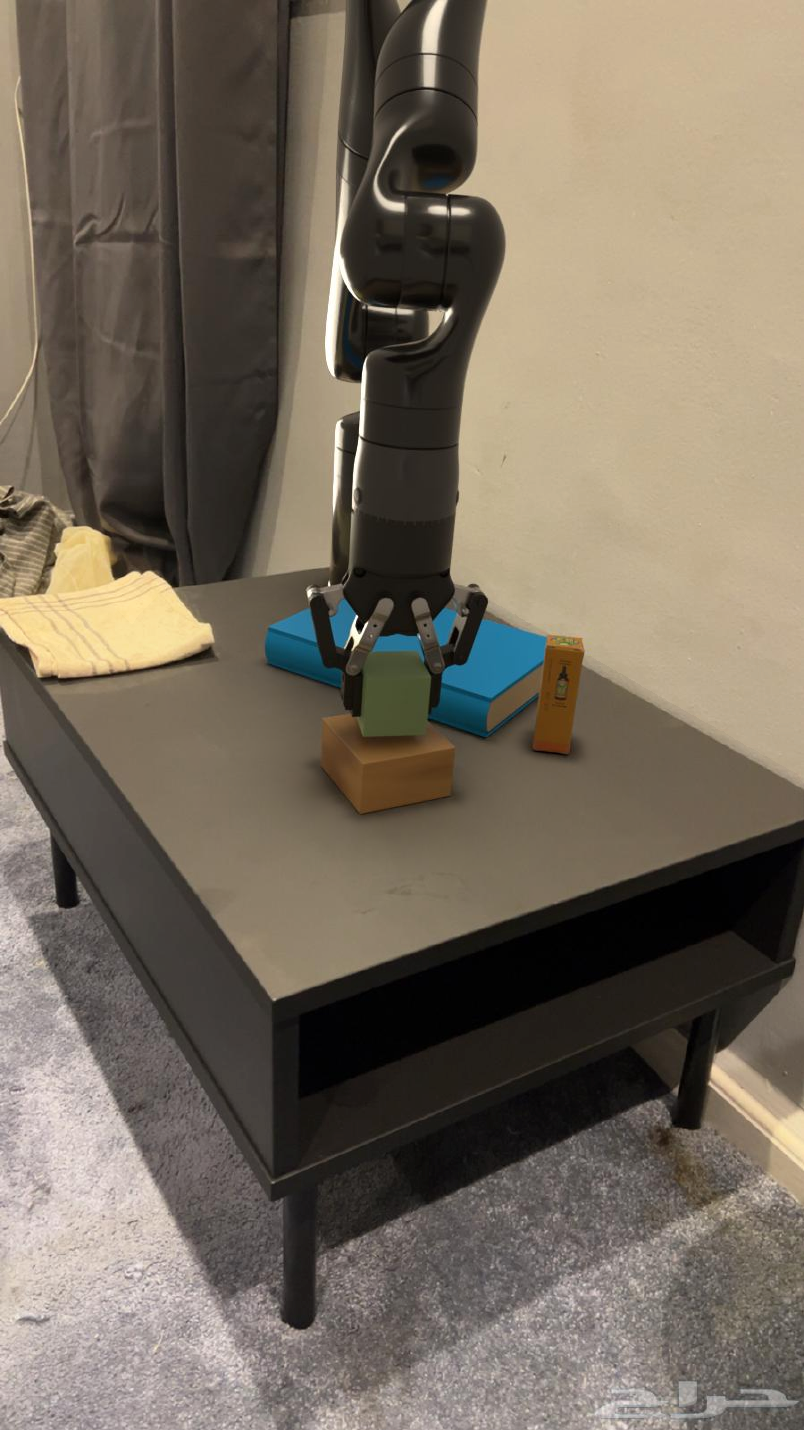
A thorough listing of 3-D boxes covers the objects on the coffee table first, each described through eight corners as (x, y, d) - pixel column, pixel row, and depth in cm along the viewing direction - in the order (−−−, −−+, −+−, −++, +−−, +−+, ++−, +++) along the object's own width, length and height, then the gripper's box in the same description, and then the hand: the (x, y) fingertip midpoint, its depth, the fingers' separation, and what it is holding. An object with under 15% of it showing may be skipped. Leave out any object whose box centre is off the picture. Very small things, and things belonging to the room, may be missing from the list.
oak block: (320, 765, 87) (322, 717, 85) (406, 750, 91) (410, 703, 89) (360, 814, 81) (363, 763, 79) (450, 796, 84) (455, 747, 82)
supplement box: (569, 738, 95) (586, 636, 90) (568, 756, 92) (585, 651, 87) (532, 733, 95) (547, 631, 91) (530, 751, 92) (545, 646, 88)
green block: (352, 707, 85) (355, 651, 83) (412, 705, 86) (417, 650, 84) (362, 737, 81) (366, 678, 79) (426, 735, 82) (431, 677, 80)
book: (359, 583, 116) (568, 638, 105) (357, 620, 118) (563, 677, 107) (262, 628, 103) (490, 696, 91) (262, 668, 104) (486, 740, 93)
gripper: (486, 488, 80) (464, 688, 88) (299, 485, 77) (293, 693, 85) (515, 518, 74) (488, 731, 81) (311, 515, 71) (304, 737, 79)
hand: (389, 710), depth 83 cm, fingers closed on green block, 5 cm apart
